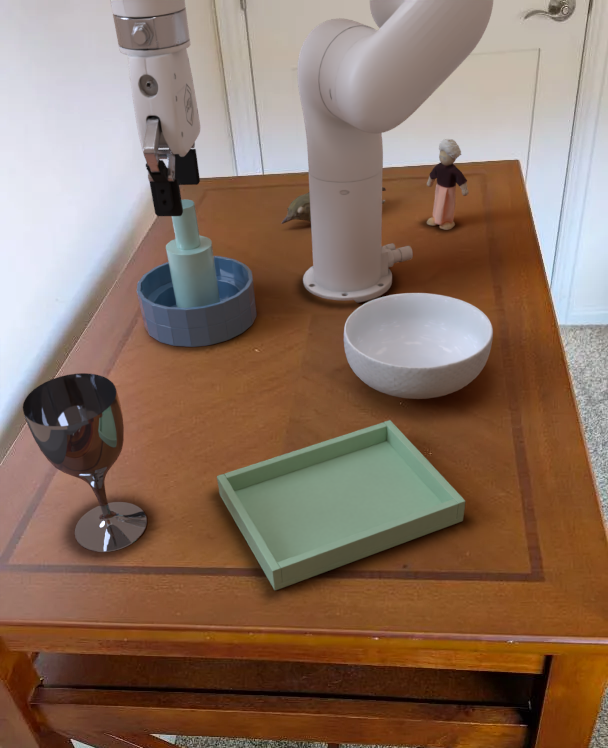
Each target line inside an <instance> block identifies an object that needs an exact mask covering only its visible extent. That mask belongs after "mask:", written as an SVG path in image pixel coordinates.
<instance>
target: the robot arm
mask: <svg viewBox="0 0 608 748" xmlns="http://www.w3.org/2000/svg"><path fill="white" fill-rule="evenodd" d="M109 1H110V7H111V12H112V18H113V24H114V28H115V33H116V40H117V45H118V51H119V53H121V54H123V55H126V56H127V62H128V70H129V81H130V89H131V95H132V103H133V104H132V105H133V109H134V115H135V122H136V128H137V132H138V138H139V142H140V146H141V150H142V153H143V156H144V159H145V162H146V163H145V168H146V170H147V180H148V182H149V187H150V194H151V198H152V203H153V209H154V213H155V215H156V217H172V216H181V215H182V213H183V207H182V201H181V200H182V195H181V189H180V186H197V185H199V184H200V182H201V178H200V170H199V163H198V156H197V155H198V154H197V148H195V147H196V140H197V139H198V137H199V135H200V133H201V122H200V115H199V109H198V104H197V103H198V102H197V96H196V91H195V85H194V79H193V73H192V68H191V63H190V59H189V54H188V51H187V50H188V48H190V46H191V39H190V30H189V22H188V14H187V7H186V1H185V0H109ZM493 7H494V0H369V9H370V14H371V17H372V19H373V22H374V23H375V24H376V25H377V27H378V29H376V28H373V27H372V26H369V25H366V24H364V23H360V22H359V21H355V20H353V19H348V18H340V17H339V18H331V19H327V20H325V21H323V22H321V23H319V24H318V25H316V26H315V27H314V28H313V29H311V31H310V32H309V33H308V35H306V37H305V38H304V41H303V42H302V45H301V47H300V50H299V54H298V58H297V68H296V70H297V71H296V75H297V76H296V78H297V88H298V94H299V99H300V105H301V109H302V110H301V111H302V116H303V121H304V128H305V137H306V147H307V148H306V149H307V165H308V171H307V173H308V189H309V190H308V191H309V192H310V212H311V221H310V229H311V248H312V249H311V251H312V266H310V267H309V268H308V269H307V270H306V271H305V272H304V274H303V276H302V283H303V287H304V288H305V290H306V291H308V292H309V293H311V294H312V295H314V296H316V297H319V298H321V299H325V300H332V301H354V302H356V303H357V304H359V303H364V302H365V303H366V302H369V301H372V300H374V299H377V298H380V297H381V296H382V295H384V294H385V293H387V292H388V291H389V290H390V288H391V286H392V283H393V274H392V271H391V269H390V268H392V267H393V266H394V264H397V263H404V262H407V261H411V260H412V259H413V257H414V254H413V249H412V247H411V245H405V246H402V247H396V244H395V243H393V242H392V243H388V244H384V245H382V240H383V239H382V235H383V233H382V232H383V204H382V201H383V191H382V187H383V169H384V146H383V135H382V133H386V132H390V131H391V130H394V129H395V128H397V127H398V126H400V125H402V124H403V123H405V121H407V119H409V118H410V117H411V116H412V115H413V114H414V113H415V112H416V111H417V110H418V109H419V108H420V107H421V106H422V105H423V104H424V103H425V102H426V101H427V100H428V99H429V98H430V97H431V96H432V95H433V94H434V93H435V92H436V91H437V90H438V88H439V87H440V86H441V85H443V83H444V82H445V81H446V80H447V79H448V78H449V77H450V76H451V75H452V74H453V73H454V72H455V71H456V70H457V69H458V68H459V67H460V66H461V64H463V62H465V60H466V59H467V58H468V57H469V56H470V55H471V54H472V52H474V50H475V48H476V47H477V45H478V44H479V43H480V41H481V39H482V38H483V35H484V33H485V32H486V30H487V28H488V25H489V23H490V20H491V16H492V13H493V12H492V11H493ZM164 160H167V163H165V161H164ZM166 164H167V165H166Z"/></svg>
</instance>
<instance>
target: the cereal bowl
mask: <svg viewBox="0 0 608 748" xmlns="http://www.w3.org/2000/svg"><path fill="white" fill-rule="evenodd" d="M493 337H494V329H493V325H492V322H491V321H490V318H489V317H488V316H487V315H486V313H484V311H482V310H481V309H479V308H478V307H476V306H475V305H473V304H471V303H469V302H467V301H464V300H462V299H459V298H456V297H452V296H448V295H443V294H437V293H429V292H428V293H426V292H405V293H396V294H389V295H386V296H382V297H381V296H380V297H377V298H375V299H372V300H369V301H366V302H365V303H363V304H361V305H360V306H358V307H357V308H355V309H354V310H353V312H351V313H350V315H349V316H348V317H347V319H346V321H345V323H344V327H343V347H344V353H345V358H346V360H347V363H348V364H349V367H350V368H351V370H352V372H353V373H354V374H355V376H356V377H358V378H359V380H361V381H362V382H363V383H364V384H365V385H367V386H368V387H370V388H372V389H373V390H375V391H378V392H379V393H382V394H385V395H389V396H391V397H397V398H402V399H411V400H427V399H433V398H440V397H444V396H447V395H450V394H453V393H455V392H458V391H459V390H461V389H464V387H467V386H468V385H469V384H470V383H472V382H473V381H474V380H475V379H476V378H477V377H478V376H479V375H480V373H481V372H482V371H483V369H484V367H485V366H486V364H487V361H488V360H489V356H490V353H491V349H492V343H493Z"/></svg>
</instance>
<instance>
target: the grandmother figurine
mask: <svg viewBox="0 0 608 748" xmlns="http://www.w3.org/2000/svg"><path fill="white" fill-rule="evenodd" d="M438 150H439V154H438V158H439V163H437V164H436V165H435V166H434V167H433V168H432V169H431V171H430V172H429V176H428V179H427V182H426V186H427V187H428V188H431V187H433V186H434V183H435V182H436V185H435V189H434V190H435V191H434V199H433V200H434V201H433V210H432V216H431V217H429V218H428V219H427V221H426V225H428V226H438V225H439V226H438V227H439V229H441V230H445V231H449V230H451V229H453V228H454V227H455V225H456V224H455V221H454V216H455V209H456V189H457V186H458V187H459V188H460V190H461V195H462V196H468V194H469V193H470V192H469V189H468V180H467V178H466V177H465V175H464V173H463V172H462V171H461V170H460V169H459V168H458V167H457V166H456V165H455V164H454V163H455V162H456V160H457V159H458V158H459V157H460V156H462V150H461V148H460V145H459V144H458V143H457V141H456V140H455V139H451V138H444V139H442V140H441V141H440V142H439V145H438Z"/></svg>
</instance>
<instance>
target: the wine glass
mask: <svg viewBox="0 0 608 748" xmlns="http://www.w3.org/2000/svg"><path fill="white" fill-rule="evenodd" d="M22 411H23V416H24V419H25V421H26V424H27V426H28V428H29V430H30V433H31V436H32V438H33V439H34V441H35V443H36V444H37V446H38V448H39V449H40V452H41V453H42V454H43V455H44V457H45V458H46V460H47V461H49V463H50V464H51V466H53V467H54V468H55V469H57V470H58V471H60V472H62V473H64V474H66V475H68V476H72V477H75V478H77V479H80V480H82V481H83V482H85V483H86V484H88V486H90V488H91V489H92V492H93V493H94V496H95V497H96V500H97V502H98V504H99V505H97V506H95V507H94V508H91V509H90V510H88V511H87V512H86V513H84V515H82V516H81V517H80V518H79V520H78V521H77V523H76V525H75V528H74V536H75V537H74V539H75V540H76V542H77V544H78V545H79V546H81V547H82V548H83V549H86V550H88V551H91V552H96V553H109V552H115V551H119V550H121V549H124V548H126V547H129V546H130V545H132V544H133V543H135V542H136V541H137V540H138V539H140V538H141V536H142V535H143V534H144V532H145V531H146V529H147V526H148V518H147V514H146V513H145V511H144V510H143V509H142V508H141V507H140V506H138V505H136V504H134V503H130V502H125V501H113V502H108V498H107V491H106V485H105V481H106V476H107V474H108V473H109V471H110V469H111V468H112V467H113V465H114V464H115V463H116V462H117V460H118V459H119V456H120V455H121V453H122V450H123V447H124V442H125V441H124V440H125V439H124V438H125V437H124V436H125V435H124V433H125V429H124V428H125V426H124V415H123V409H122V405H121V401H120V397H119V394H118V389H117V388H116V385H115V384H114V382H113V381H112V380H111V379H110V378H107V377H106V376H103V375H99V374H95V373H85V372H82V373H71V374H65V375H60V376H58V377H54V378H51V379H49V380H47V381H45V382H43V383H41V384H40V385H38V386H36V387H35V388H33V389H32V390H31V392H30V393H28V395H26V397H25V399H24V401H23V403H22Z"/></svg>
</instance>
